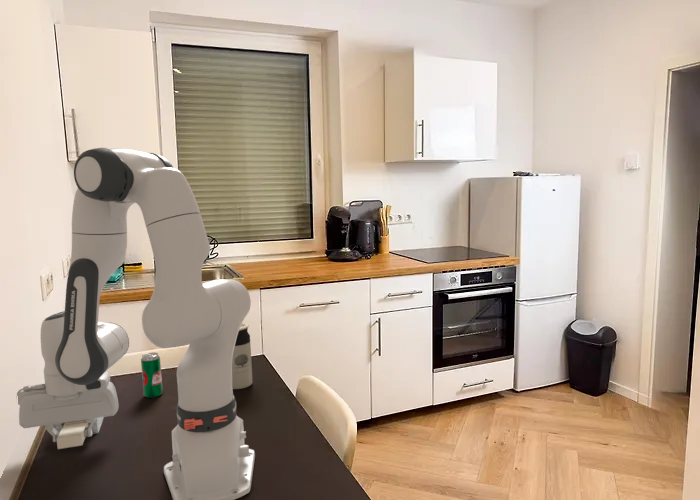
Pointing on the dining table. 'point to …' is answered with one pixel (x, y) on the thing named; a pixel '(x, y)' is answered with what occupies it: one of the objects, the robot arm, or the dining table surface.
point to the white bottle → (242, 360)
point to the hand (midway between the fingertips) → (73, 438)
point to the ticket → (72, 434)
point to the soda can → (151, 375)
